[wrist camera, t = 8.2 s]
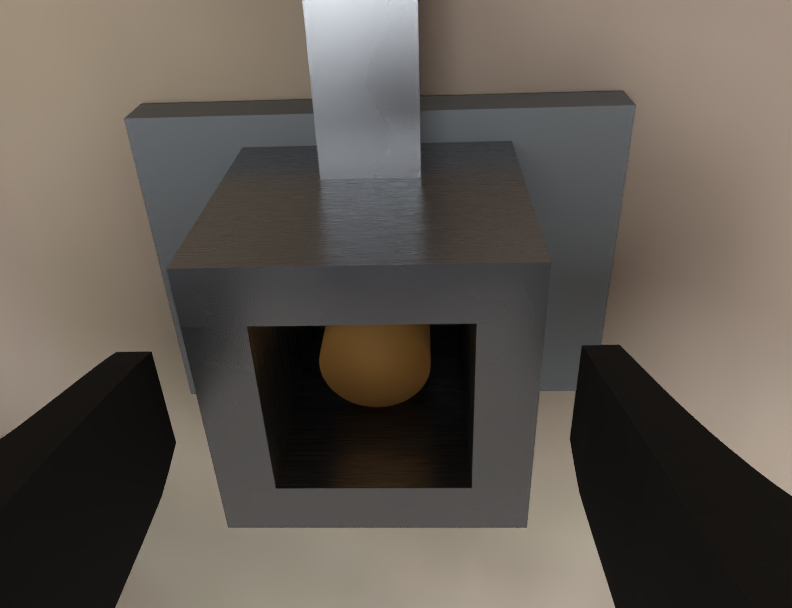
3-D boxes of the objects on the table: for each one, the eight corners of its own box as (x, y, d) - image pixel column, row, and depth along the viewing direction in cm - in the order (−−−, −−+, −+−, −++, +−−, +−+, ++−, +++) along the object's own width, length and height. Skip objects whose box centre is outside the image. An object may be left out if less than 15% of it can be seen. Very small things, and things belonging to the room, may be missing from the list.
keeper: (201, 369, 18) (144, 501, 15) (141, 103, 15) (44, 188, 11) (586, 365, 18) (630, 500, 14) (623, 90, 14) (696, 173, 11)
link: (276, 362, 17) (228, 527, 13) (207, -78, 12) (91, -45, 8) (500, 360, 17) (526, 527, 13) (524, -91, 12) (581, -64, 8)
